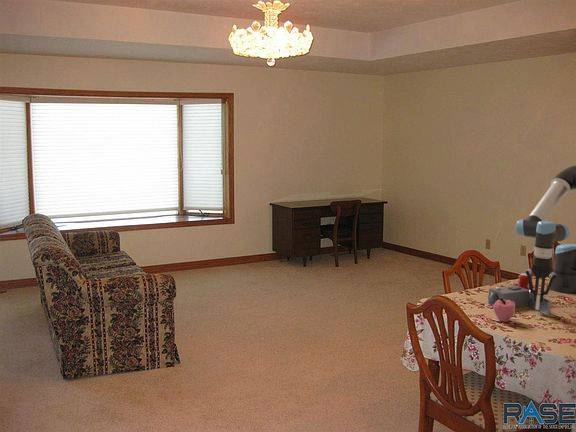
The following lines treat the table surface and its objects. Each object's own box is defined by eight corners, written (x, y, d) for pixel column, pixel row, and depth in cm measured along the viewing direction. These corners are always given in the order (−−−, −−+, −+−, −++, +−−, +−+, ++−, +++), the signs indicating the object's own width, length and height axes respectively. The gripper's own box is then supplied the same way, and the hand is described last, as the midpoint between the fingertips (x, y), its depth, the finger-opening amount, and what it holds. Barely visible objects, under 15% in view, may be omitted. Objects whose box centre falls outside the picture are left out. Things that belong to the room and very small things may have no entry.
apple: (511, 325, 256) (513, 302, 254) (490, 321, 260) (491, 298, 259) (516, 319, 264) (518, 296, 262) (495, 315, 268) (497, 293, 267)
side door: (527, 304, 285) (528, 290, 284) (531, 304, 285) (532, 290, 284) (547, 315, 269) (548, 300, 268) (551, 315, 269) (552, 300, 268)
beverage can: (531, 300, 293) (533, 276, 291) (517, 299, 294) (519, 275, 292) (529, 297, 299) (531, 273, 297) (515, 296, 300) (517, 272, 298)
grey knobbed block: (514, 299, 294) (516, 283, 293) (528, 305, 286) (530, 288, 284) (484, 303, 287) (485, 287, 285) (498, 309, 278) (499, 292, 277)
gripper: (526, 256, 268) (520, 308, 272) (558, 260, 263) (552, 313, 266) (528, 253, 275) (522, 304, 279) (559, 257, 269) (553, 309, 273)
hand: (537, 308), depth 273 cm, fingers closed
